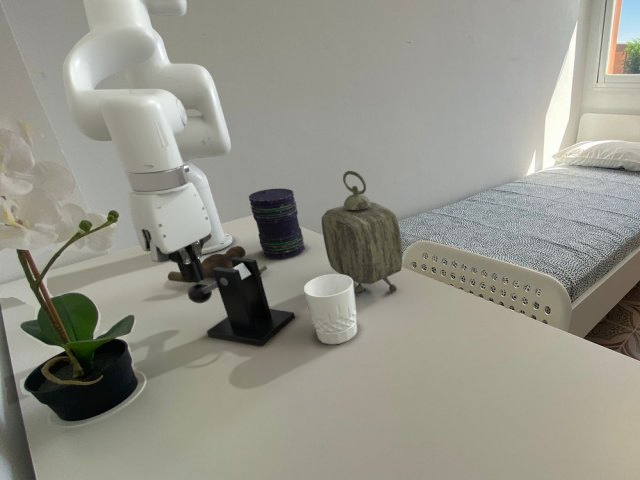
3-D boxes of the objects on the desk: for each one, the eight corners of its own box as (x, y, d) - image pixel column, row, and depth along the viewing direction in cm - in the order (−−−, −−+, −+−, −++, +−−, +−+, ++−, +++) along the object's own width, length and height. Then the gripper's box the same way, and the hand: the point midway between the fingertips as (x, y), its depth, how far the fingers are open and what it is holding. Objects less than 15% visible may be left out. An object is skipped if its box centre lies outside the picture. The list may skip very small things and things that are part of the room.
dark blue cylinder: (313, 248, 106) (302, 192, 99) (279, 263, 98) (265, 203, 91) (289, 240, 110) (276, 186, 103) (254, 254, 103) (239, 196, 96)
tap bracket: (208, 336, 72) (184, 272, 66) (245, 309, 80) (227, 250, 74) (262, 346, 70) (242, 280, 64) (295, 317, 78) (280, 256, 72)
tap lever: (192, 309, 74) (179, 293, 73) (208, 299, 77) (195, 283, 76) (241, 284, 68) (227, 266, 67) (256, 275, 71) (243, 257, 70)
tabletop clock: (405, 291, 87) (395, 173, 75) (370, 309, 81) (353, 183, 69) (364, 270, 95) (349, 161, 84) (329, 285, 89) (308, 170, 77)
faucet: (223, 257, 101) (283, 266, 100) (170, 288, 85) (239, 299, 85) (221, 239, 99) (281, 249, 98) (165, 267, 83) (236, 279, 83)
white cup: (369, 332, 74) (362, 284, 69) (328, 353, 68) (318, 302, 64) (345, 315, 78) (337, 269, 74) (306, 333, 73) (295, 285, 69)
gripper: (180, 166, 72) (211, 259, 81) (90, 190, 59) (138, 298, 68) (216, 169, 71) (243, 264, 79) (132, 195, 58) (176, 305, 66)
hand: (195, 279), depth 73 cm, fingers closed
